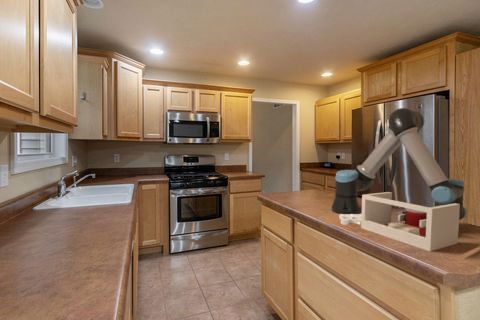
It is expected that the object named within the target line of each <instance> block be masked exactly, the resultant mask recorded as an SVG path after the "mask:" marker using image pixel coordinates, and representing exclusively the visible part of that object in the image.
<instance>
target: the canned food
mask: <svg viewBox="0 0 480 320" xmlns="http://www.w3.org/2000/svg"><path fill="white" fill-rule="evenodd" d="M404 212H405V221H404V224H406V225H410V226H413V227H416V228H419V233H420V236H422V237H426V227H422V228H421V227H419V223H420V220H424V219H427V212H422V211H417V210H413V209H408V208H405V211H404Z"/></svg>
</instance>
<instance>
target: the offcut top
mask: <svg viewBox="0 0 480 320" xmlns="http://www.w3.org/2000/svg"><path fill="white" fill-rule="evenodd" d="M387 226H388V227H392V228H395V229H399V230H402V231H405V232H409V233H412V234H419V228H416V227H413V226H410V225H406V224H405V223H404V222H399V221H397V222H396V221H395V222H391V223H388V225H387Z"/></svg>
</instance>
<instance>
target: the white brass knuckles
mask: <svg viewBox="0 0 480 320" xmlns="http://www.w3.org/2000/svg"><path fill="white" fill-rule="evenodd" d="M361 216H362V213H359V214H340V213H339V214H338V218H339V221H340V224H341V225H343V226H348V225H352V224H356V225H357V224H358V225H359V226H361Z"/></svg>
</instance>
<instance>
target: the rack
mask: <svg viewBox="0 0 480 320" xmlns="http://www.w3.org/2000/svg"><path fill="white" fill-rule="evenodd" d="M361 196H362V197H361V214H362V216H361V224H360V228H361V229H363V230H366V231H369V232H372V233H375V234H377V235H381V236H383V237H386V238H389V239H392V240H395V241H398V242H401V243H405V244H407V245H409V246H413V247H415V248H418V249H422V250H425V251H428V252H432V251H433V252H434V251H436V250H440V249H443V248H447V247H449V246H453V245H456V244H458V243H459V228H460V227H459V226H460V225H459V224H460V220H459V211H460V204H456V203H454V204H448V205H442V204H441V205H436V206H432V207H431V206H430V207H428V206H424V205H418V204H414V203H409V202H403V201H399V200H393V192H390V191H387V192H386V191H385V192H376V193H367V194H362V195H361ZM392 206H394V207H399V208H405V209H406V208H408V209H413V210H417V211H422V212H427V221H426V236H419V235H415V234H412V233H409V232H405V231H402V230H399V229H395V228H392V227H388V223H392Z"/></svg>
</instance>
